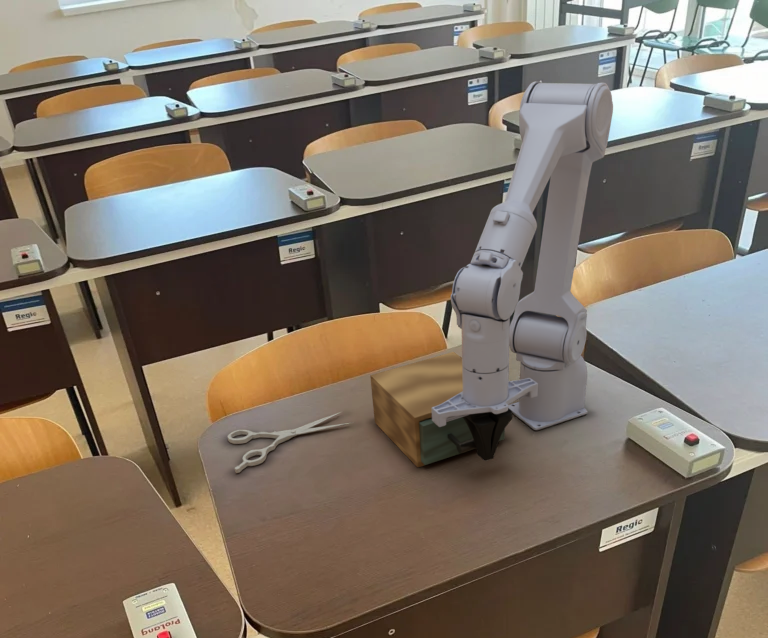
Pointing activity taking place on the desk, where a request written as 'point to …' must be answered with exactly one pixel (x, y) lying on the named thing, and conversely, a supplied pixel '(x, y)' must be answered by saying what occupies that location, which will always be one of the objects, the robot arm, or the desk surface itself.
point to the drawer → (445, 439)
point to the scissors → (280, 438)
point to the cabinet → (414, 398)
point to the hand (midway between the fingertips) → (485, 456)
